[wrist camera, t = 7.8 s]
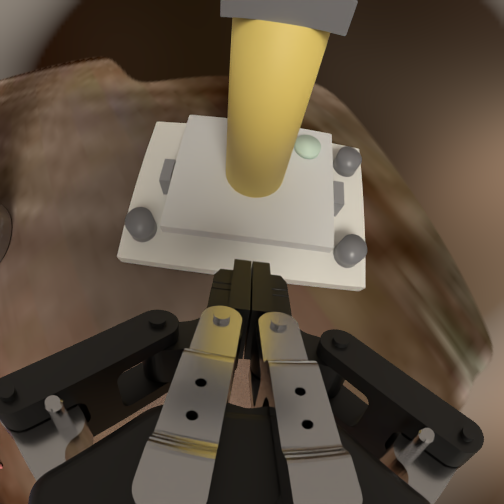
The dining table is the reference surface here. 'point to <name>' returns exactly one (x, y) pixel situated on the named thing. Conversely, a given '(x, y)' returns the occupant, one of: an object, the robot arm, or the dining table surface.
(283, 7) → the yellow column stand
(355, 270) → the base
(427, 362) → the dining table surface
